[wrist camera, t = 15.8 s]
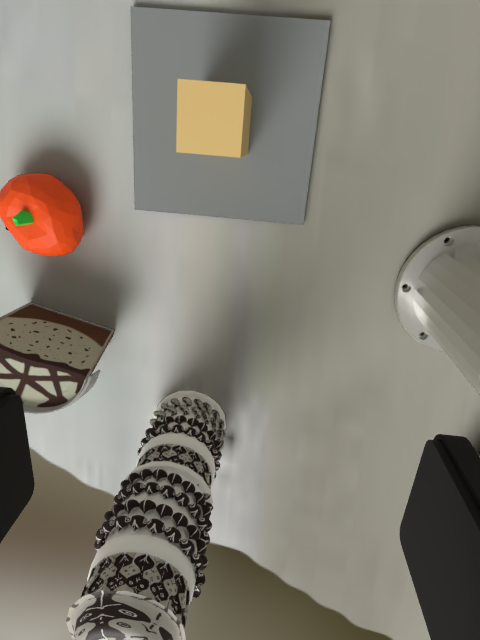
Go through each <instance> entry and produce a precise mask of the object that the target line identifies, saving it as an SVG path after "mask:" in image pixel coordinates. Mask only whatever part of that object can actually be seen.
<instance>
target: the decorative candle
mask: <svg viewBox="0 0 480 640" xmlns="http://www.w3.org/2000/svg"><path fill="white" fill-rule="evenodd" d="M154 415H155V419H151V420H150V424H151V425H152V426H153V428H149V429H147V430H146V432H145V434H146V438H143V439H142V441H141V445H142V447H141V448H140V449H139V450H138V455H139V457H138V460H137V463H136V467H135V469H134V470H133V471H132V472H131V473H130V474H129V475H128V476H127V477H126V479H125V480H124V481H122V482H121V488H122V489H121V490H120V491H119V493H118V495H116V496H115V498H114V504H115V505H114V506H113V507H112V511H108V512H106V514H105V516H104V519H105V522H104V523H103V525H102V528H100V529H99V530H98V531H97V533H96V539H97V540H96V541H95V544H94V545H95V549H96V550H97V553H96V556H95V558H94V561H93V563H92V565H91V568H90V572H89V575H88V578H87V581H88V582H87V584H86V585H85V587H84V590H83V592H82V596H81V598H80V599H79V600H78V601H77V602H76V603H75V604H74V605H72V606H71V607H70V609H69V613H68V616H67V621H66V623H67V626H68V629H69V632H70V634H71V637H72V638H73V639H74V640H186V638H185V633H184V628H185V623H186V617H187V611H188V606H189V604H190V603H191V599H192V597H196V598H197V597H199V595H200V593H201V589H200V587H199V585H200V586H201V585H203V584H204V583H205V575H204V573H203V572H202V571H201V570H203V569H205V568H206V566H207V564H208V560H207V558H206V557H205V556H204V555H205V552H206V545H207V544H208V543H209V541H210V537H209V535H208V533H207V532H208V531H209V530H210V529H211V527H212V523H211V521H210V520H209V517H210V515H211V510H212V509H213V506H212V496H211V490H210V488H211V486H212V483H213V481H214V479H215V477H216V472H215V471H217V470H218V469H219V468H220V463H219V462H218V461H217V460H219V459H220V458H221V456H222V454H221V452H220V450H221V449H222V448H223V446H224V441H223V439H224V438H225V428H226V422H225V414H224V412H223V411H222V409H221V407H220V406H219V404H218V403H217V402H216V401H214V400H213V399H212V398H210V397H209V396H208V395H206V394H203V393H199V392H196V391H178V392H175V393H173V394H170V395H168V396H166V397H165V398H164V399H163V400H162V401H161V402H160V403H159V405H158V407H157V410H156V411H154ZM121 501H122V502H121ZM114 516H115V517H116V519H115V520H112V518H113V517H114ZM105 534H106V537H105V538H106V543H105V538H104V536H105ZM196 565H197V566H196ZM195 566H196V567H197V568H196V571H195V572H194V567H195Z"/></svg>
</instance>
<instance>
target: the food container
mask: <svg viewBox="0 0 480 640" xmlns="http://www.w3.org/2000/svg"><path fill="white" fill-rule="evenodd" d="M113 333H114V330H113V329H110V328H107V327H104V326H101V325H98V324H95V323H92V322H89V321H86V320H83V319H80V318H77V317H74V316H71V315H68V314H65V313H62V312H59V311H56V310H53V309H50V308H47V307H44V306H41V305H38V304H35V303H32V302H30V303H28V304H26V305H24V306H22V307H20V308H18V309H16V310H14V311H12V312H10V313H8V314H6V315H4V316H2V317H0V387H8V388H12V389H14V391H15V392H16V395H19V396H20V397H21V398H22V402H23V409H24V412H25V413H34V414H37V413H49V412H54V411H57V410H60V409H63V408H65V407H67V406H69V405H71V404H73V403H74V402H76V401H77V400H78V399H80V398H81V397H82V396H84V395H85V394H86V393H87V392H88V391H89V390H90V389H91V388H92V387H93V385H94V384H95V382H96V380H97V378H98V375H99V372H100V370H98V371H96V372H95V373H94V374H92V372H93V371H94V369H95V367H96V365H97V363H98V362H99V360H100V358H101V356H102V354H103V353H104V351H105V349H106V347H107V345H108V344H109V342H110V340H111V338H112V336H113ZM91 374H92V375H91Z"/></svg>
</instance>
